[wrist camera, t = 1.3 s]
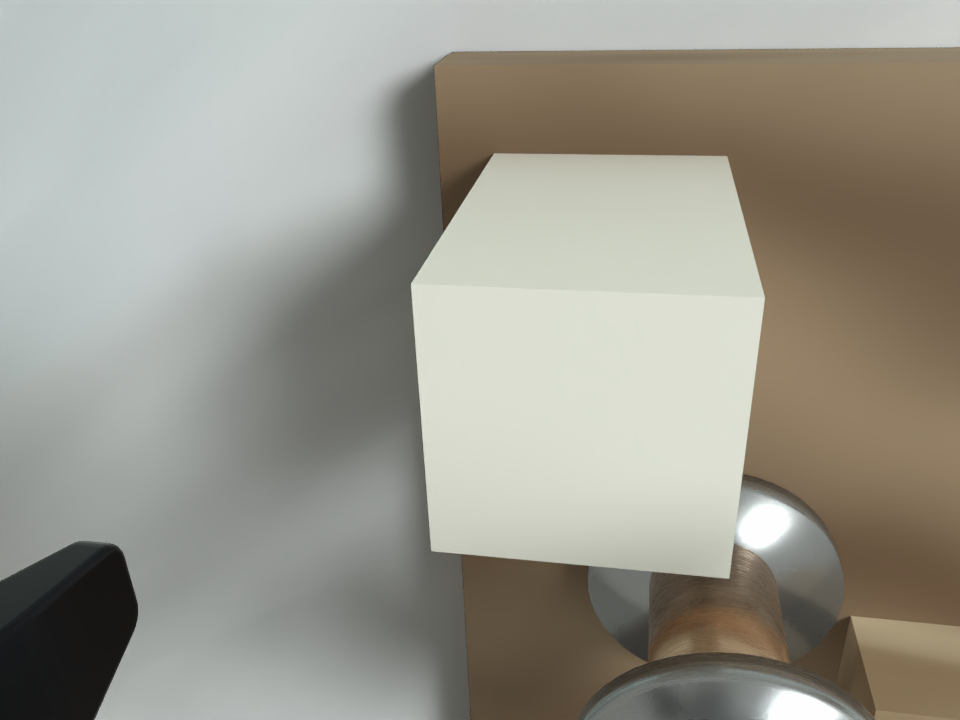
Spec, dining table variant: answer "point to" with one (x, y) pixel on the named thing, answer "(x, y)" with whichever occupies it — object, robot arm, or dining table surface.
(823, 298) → the board
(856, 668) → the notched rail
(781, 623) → the bobbin
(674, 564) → the white block
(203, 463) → the dining table surface
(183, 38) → the dining table surface
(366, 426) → the dining table surface
